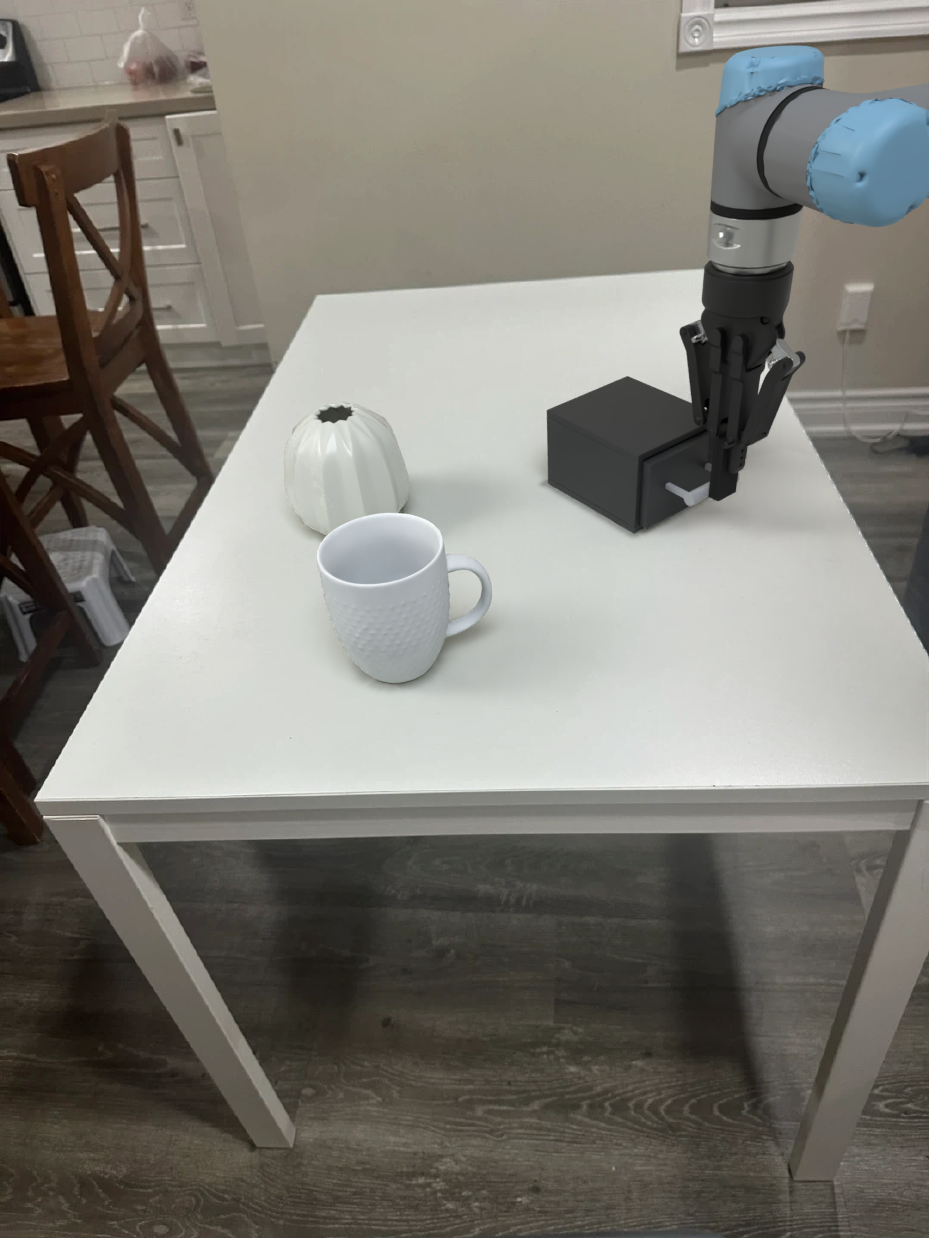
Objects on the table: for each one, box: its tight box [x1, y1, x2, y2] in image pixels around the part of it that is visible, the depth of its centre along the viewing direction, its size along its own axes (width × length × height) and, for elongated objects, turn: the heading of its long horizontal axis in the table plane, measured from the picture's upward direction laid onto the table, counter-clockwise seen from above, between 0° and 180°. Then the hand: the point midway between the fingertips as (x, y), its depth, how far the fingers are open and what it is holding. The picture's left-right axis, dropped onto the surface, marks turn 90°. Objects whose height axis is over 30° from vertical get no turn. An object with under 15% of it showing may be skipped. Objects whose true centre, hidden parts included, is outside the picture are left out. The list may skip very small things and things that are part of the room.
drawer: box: [639, 431, 741, 530], centre depth 96 cm, size 18×11×8 cm, turn 36°
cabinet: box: [546, 375, 707, 534], centre depth 99 cm, size 15×13×10 cm
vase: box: [283, 401, 411, 537], centre depth 97 cm, size 14×14×13 cm
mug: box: [316, 512, 493, 684], centre depth 78 cm, size 15×11×13 cm
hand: (722, 494), depth 90 cm, fingers closed
